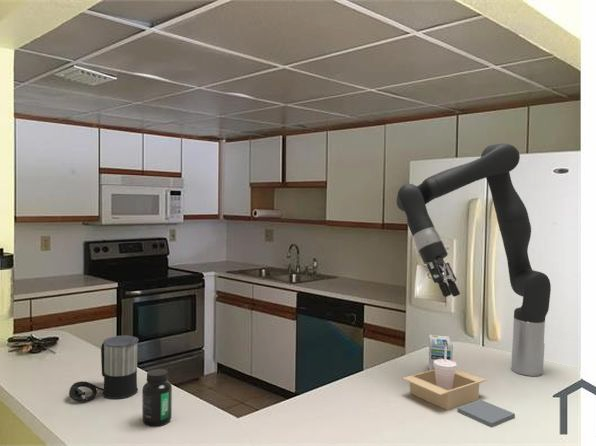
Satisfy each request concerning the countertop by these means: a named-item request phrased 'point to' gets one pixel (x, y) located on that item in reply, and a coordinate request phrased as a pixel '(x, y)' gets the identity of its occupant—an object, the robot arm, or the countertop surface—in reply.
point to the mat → (486, 413)
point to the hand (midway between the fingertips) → (452, 295)
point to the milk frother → (113, 370)
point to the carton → (460, 393)
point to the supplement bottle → (157, 399)
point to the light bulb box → (439, 349)
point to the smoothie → (444, 372)
